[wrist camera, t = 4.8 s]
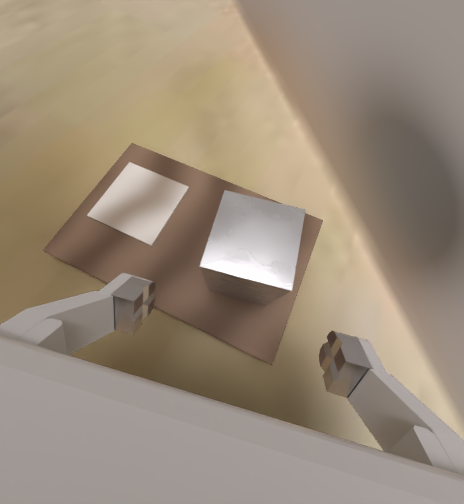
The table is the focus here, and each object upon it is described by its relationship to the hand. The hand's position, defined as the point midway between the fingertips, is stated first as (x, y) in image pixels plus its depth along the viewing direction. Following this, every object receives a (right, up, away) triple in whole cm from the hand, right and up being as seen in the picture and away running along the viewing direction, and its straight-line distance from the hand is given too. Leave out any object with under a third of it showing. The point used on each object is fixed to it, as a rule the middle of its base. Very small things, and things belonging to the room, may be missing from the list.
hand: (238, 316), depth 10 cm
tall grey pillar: (+1, +1, +9) cm, 9 cm away
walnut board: (-4, +4, +12) cm, 13 cm away
